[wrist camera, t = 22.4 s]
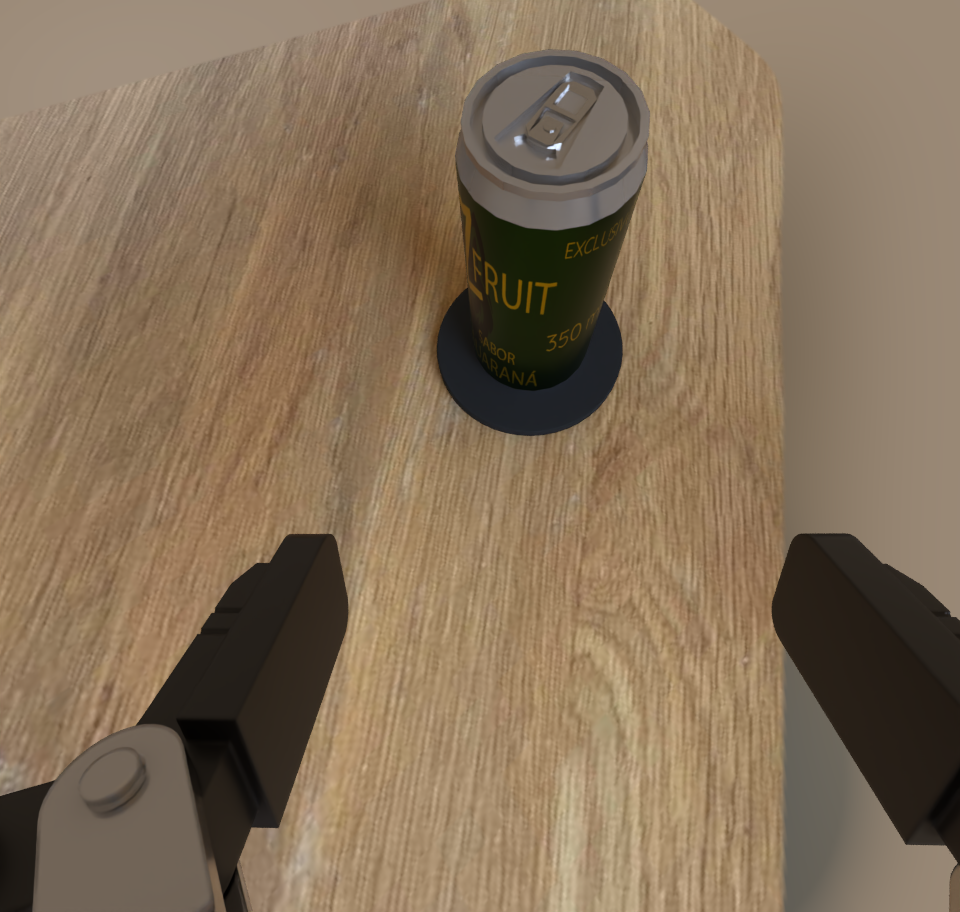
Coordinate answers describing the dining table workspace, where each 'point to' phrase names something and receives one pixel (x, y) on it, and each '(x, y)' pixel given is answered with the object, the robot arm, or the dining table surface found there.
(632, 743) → the dining table surface
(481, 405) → the coaster
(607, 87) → the beer can
